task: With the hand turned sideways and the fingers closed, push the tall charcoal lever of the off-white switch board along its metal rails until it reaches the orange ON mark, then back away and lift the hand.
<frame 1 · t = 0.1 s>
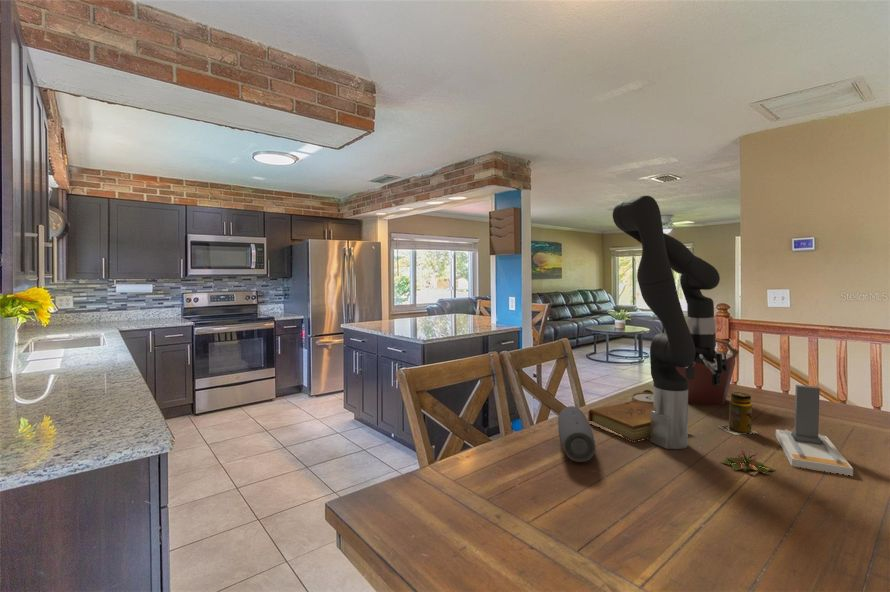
hand: (702, 382, 132), 17 cm above the table, tool pointing down, fingers open, 8 cm apart
switch board: (809, 453, 119), on the table
succulent plant: (747, 469, 112), on the table
alarm clock: (649, 405, 166), on the table
switch lever: (806, 413, 123), point 10 cm above the table, slide at 0.0 cm
condiment: (737, 431, 138), on the table
bluetooth speaker: (575, 450, 124), on the table
bucket: (701, 400, 170), on the table
diary: (634, 428, 142), on the table
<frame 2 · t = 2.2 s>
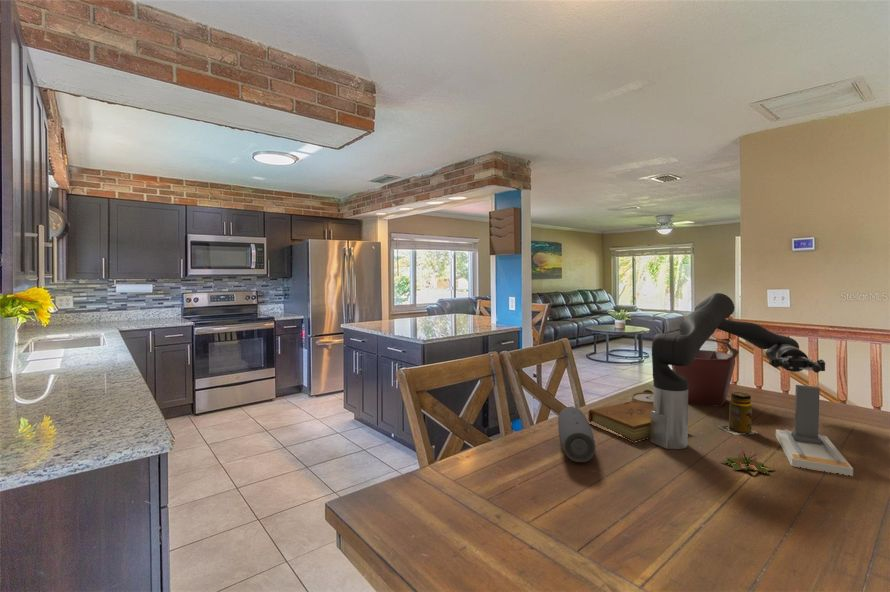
hand: (802, 368, 128), 22 cm above the table, tool horizontal, fingers open, 6 cm apart
nothing on the table moved.
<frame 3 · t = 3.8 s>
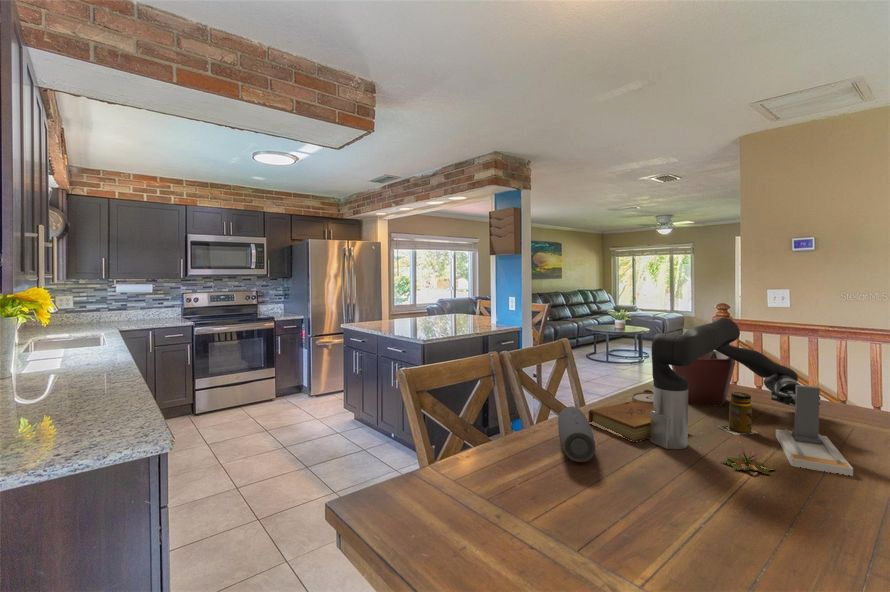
hand: (801, 406, 128), 11 cm above the table, tool horizontal, fingers closed
nothing on the table moved.
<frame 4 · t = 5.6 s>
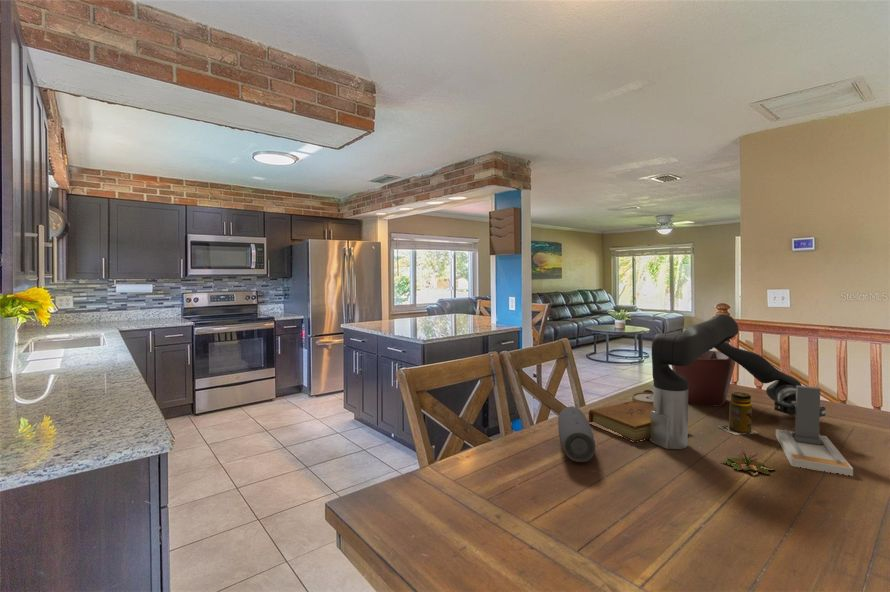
hand: (806, 416, 123), 9 cm above the table, tool horizontal, fingers closed
switch lever: (807, 413, 122), point 10 cm above the table, slide at 0.7 cm, touching gripper
everything else where it was.
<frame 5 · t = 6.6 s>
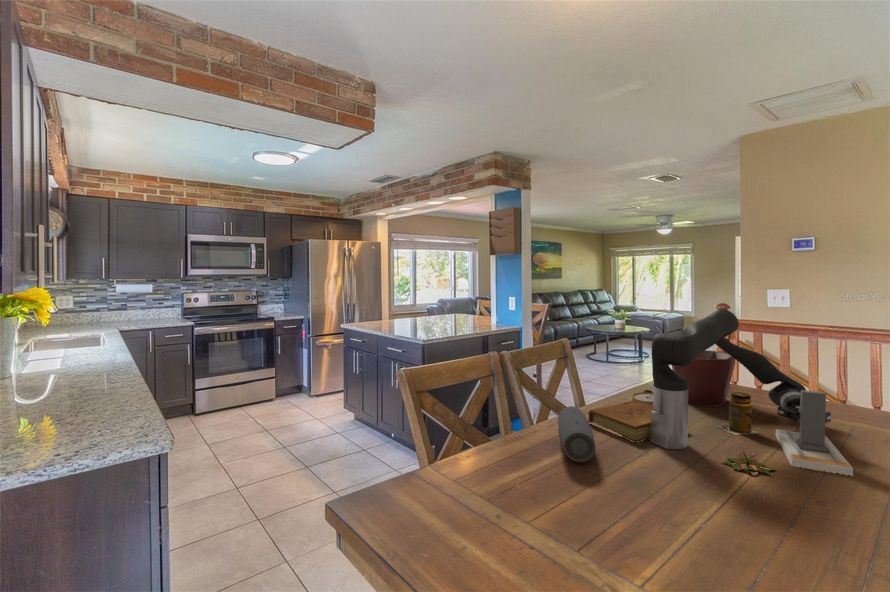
hand: (811, 423, 118), 9 cm above the table, tool horizontal, fingers closed
switch lever: (812, 419, 117), point 10 cm above the table, slide at 6.5 cm, touching gripper
everything else where it was.
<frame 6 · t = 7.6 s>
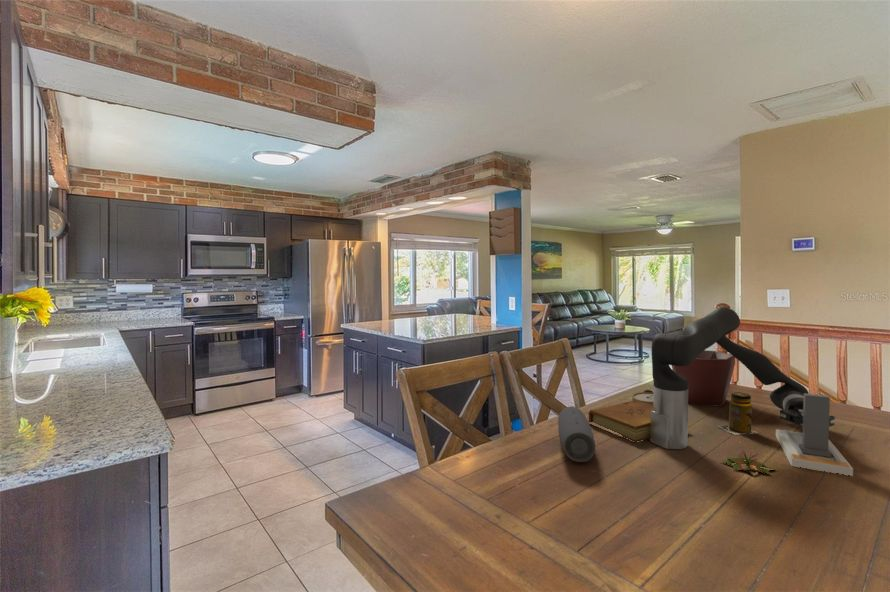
hand: (814, 427, 115), 9 cm above the table, tool horizontal, fingers closed
switch lever: (815, 424, 114), point 10 cm above the table, slide at 10.1 cm, touching gripper
everything else where it was.
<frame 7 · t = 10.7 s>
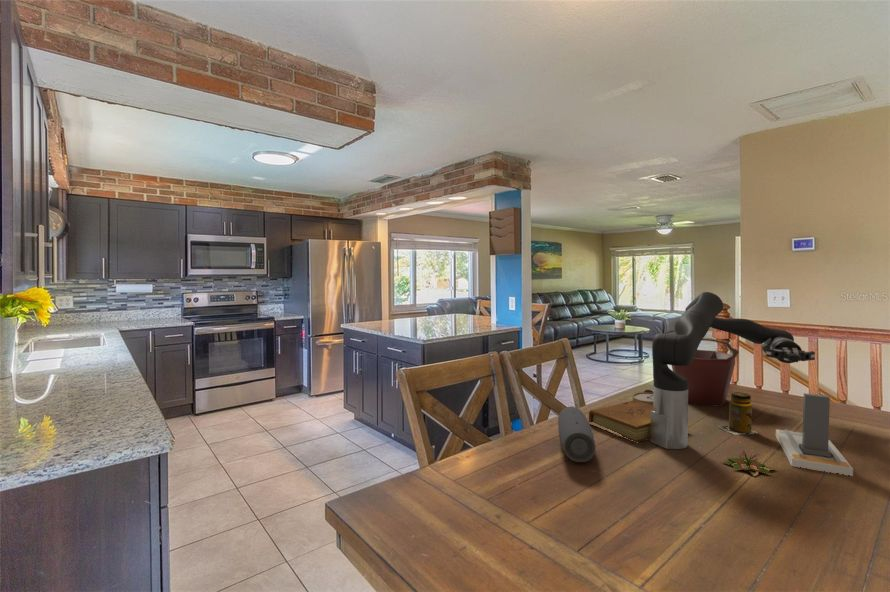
hand: (795, 358, 129), 25 cm above the table, tool horizontal, fingers closed
switch lever: (815, 423, 114), point 10 cm above the table, slide at 10.0 cm
everything else where it was.
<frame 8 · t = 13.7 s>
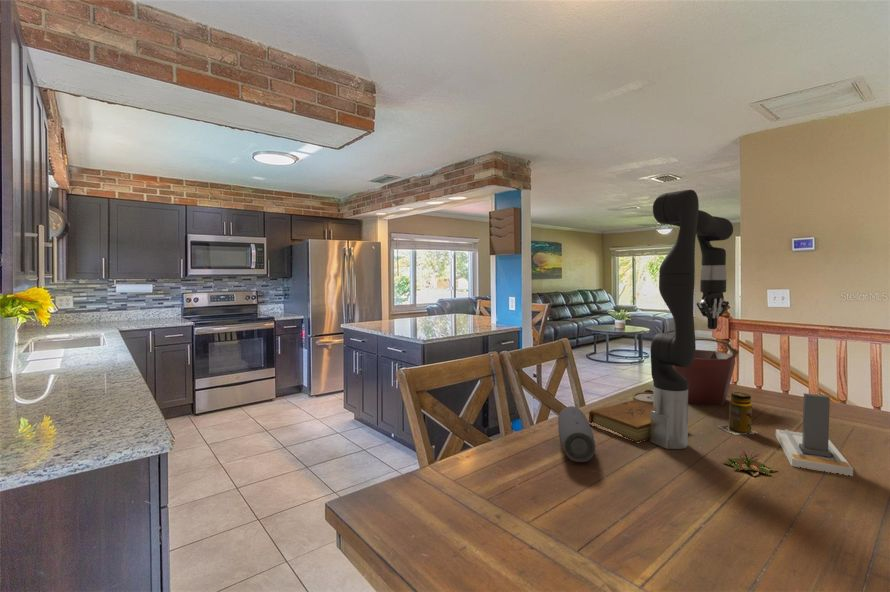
hand: (712, 328, 146), 32 cm above the table, tool pointing down, fingers closed
nothing on the table moved.
at the end: switch lever slide at 10.0 cm; the gripper is holding nothing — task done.
